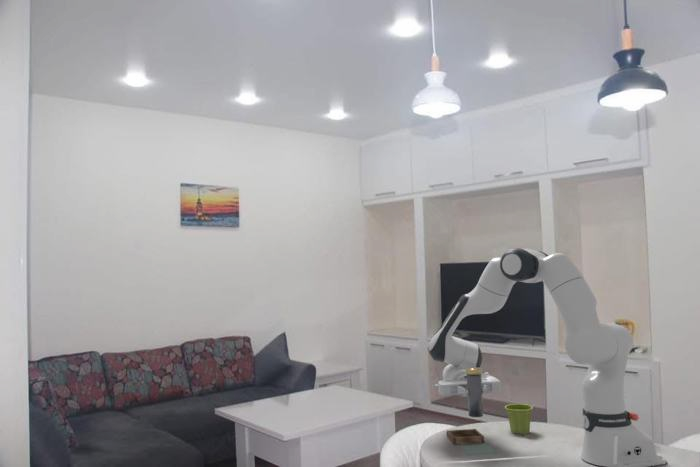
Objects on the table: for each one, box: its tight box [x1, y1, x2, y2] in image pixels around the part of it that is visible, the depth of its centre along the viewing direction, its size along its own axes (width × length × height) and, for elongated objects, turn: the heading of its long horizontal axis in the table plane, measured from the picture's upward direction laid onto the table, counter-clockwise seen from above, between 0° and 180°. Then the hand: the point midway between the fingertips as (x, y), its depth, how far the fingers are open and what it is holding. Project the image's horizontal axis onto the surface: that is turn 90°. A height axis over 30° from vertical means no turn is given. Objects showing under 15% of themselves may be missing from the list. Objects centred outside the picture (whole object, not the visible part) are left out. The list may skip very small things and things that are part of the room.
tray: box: [446, 428, 485, 445], centre depth 191 cm, size 10×9×2 cm
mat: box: [460, 443, 497, 456], centre depth 180 cm, size 9×9×1 cm
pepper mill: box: [466, 367, 484, 418], centre depth 182 cm, size 5×5×14 cm
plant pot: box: [504, 403, 534, 435], centre depth 199 cm, size 9×9×9 cm
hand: (475, 391), depth 181 cm, fingers closed on pepper mill, 4 cm apart
